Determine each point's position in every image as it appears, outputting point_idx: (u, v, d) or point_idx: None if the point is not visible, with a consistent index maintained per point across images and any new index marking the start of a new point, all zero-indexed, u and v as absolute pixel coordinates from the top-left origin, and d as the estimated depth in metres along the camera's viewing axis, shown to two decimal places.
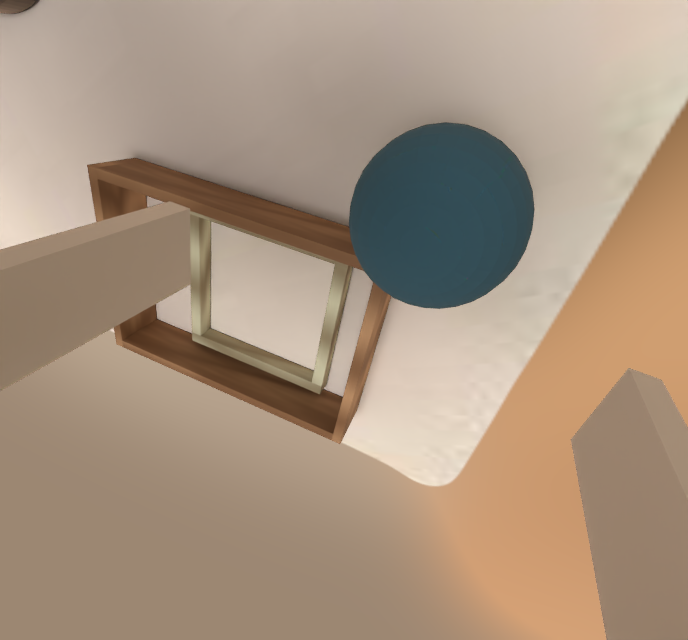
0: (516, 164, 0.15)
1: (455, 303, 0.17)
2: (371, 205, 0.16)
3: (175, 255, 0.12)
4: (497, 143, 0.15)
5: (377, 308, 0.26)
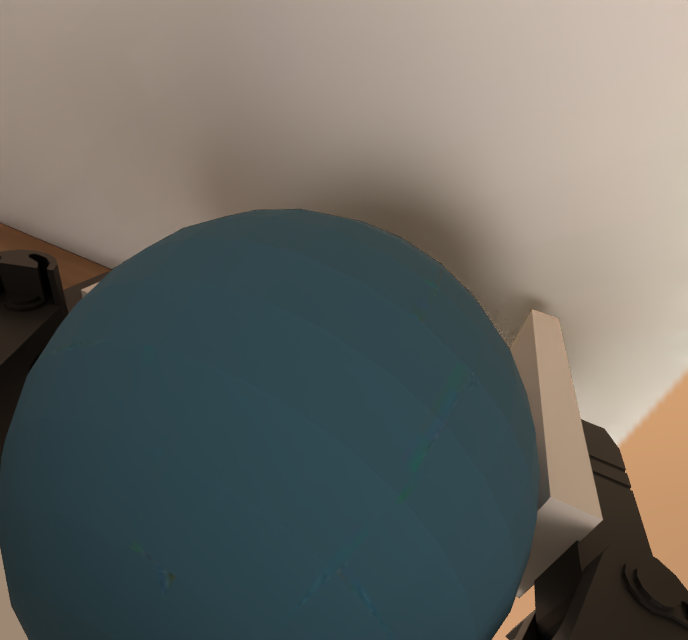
0: (480, 391, 0.04)
1: None
2: None
3: None
4: (414, 315, 0.04)
5: None
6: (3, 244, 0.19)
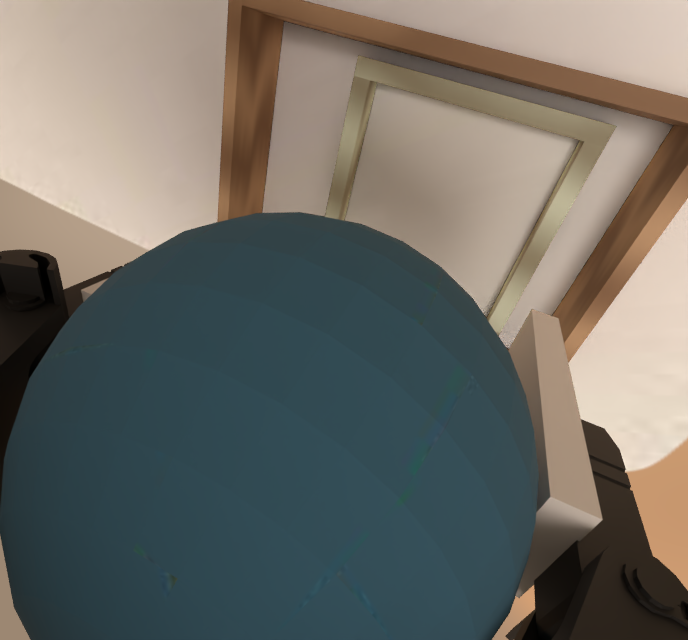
0: (479, 394, 0.04)
1: None
2: (1, 501, 0.05)
3: None
4: (413, 319, 0.04)
5: None
6: None
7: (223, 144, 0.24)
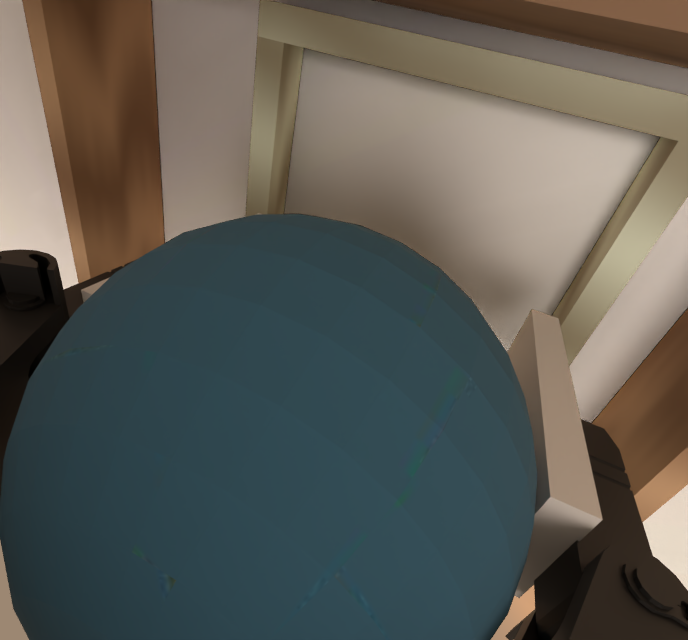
0: (478, 396, 0.04)
1: None
2: None
3: None
4: (412, 321, 0.04)
5: None
6: None
7: (56, 159, 0.15)
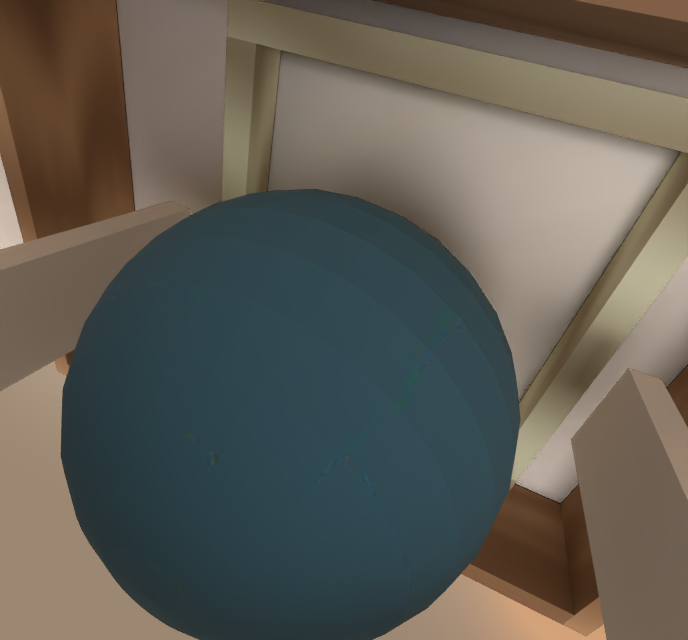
0: (465, 334, 0.05)
1: None
2: None
3: None
4: (411, 270, 0.05)
5: None
6: None
7: (7, 171, 0.13)
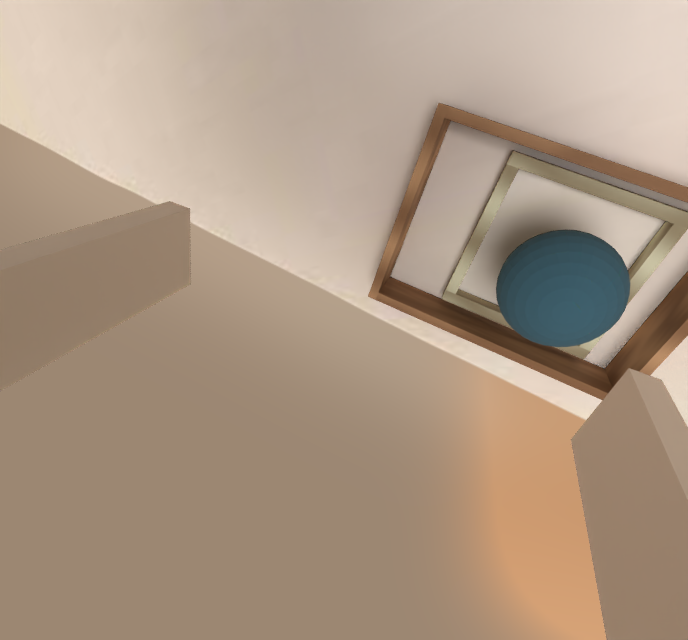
0: (624, 265, 0.25)
1: (571, 345, 0.27)
2: (533, 282, 0.25)
3: (175, 255, 0.12)
4: (614, 251, 0.25)
5: None
6: None
7: (402, 205, 0.33)
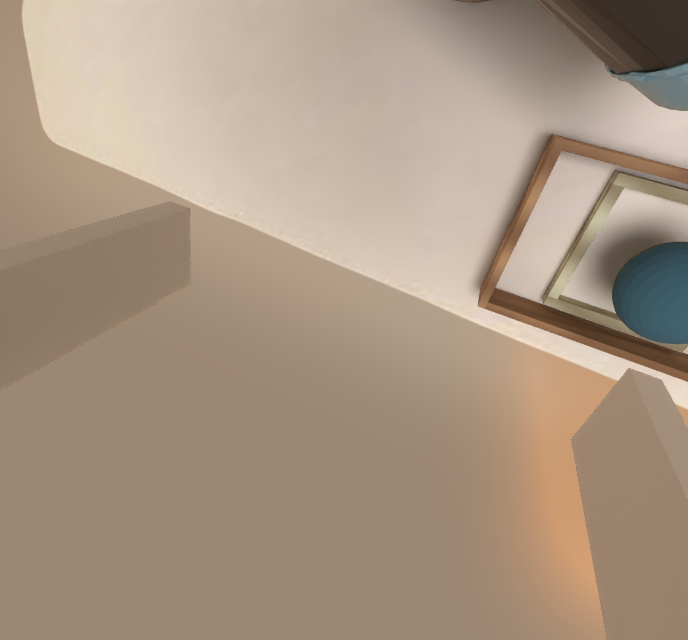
0: None
1: None
2: (659, 290, 0.29)
3: (175, 255, 0.12)
4: None
5: None
6: (642, 158, 0.34)
7: (516, 225, 0.37)
